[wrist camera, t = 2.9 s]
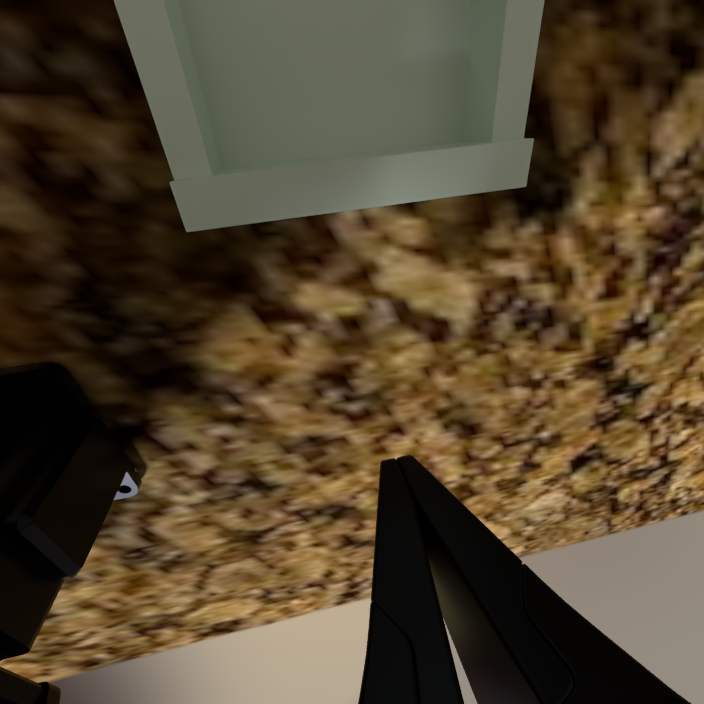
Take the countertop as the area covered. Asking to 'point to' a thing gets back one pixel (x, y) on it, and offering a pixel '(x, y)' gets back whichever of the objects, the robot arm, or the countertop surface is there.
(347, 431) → the countertop surface
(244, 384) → the countertop surface
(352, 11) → the tray shell
